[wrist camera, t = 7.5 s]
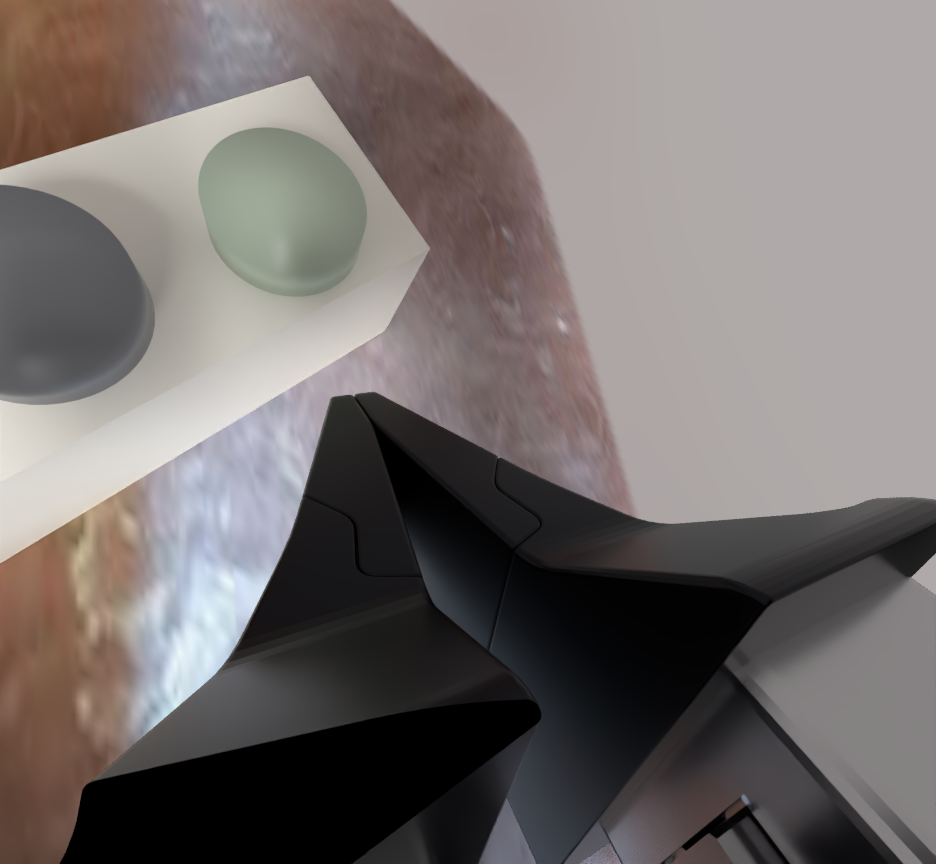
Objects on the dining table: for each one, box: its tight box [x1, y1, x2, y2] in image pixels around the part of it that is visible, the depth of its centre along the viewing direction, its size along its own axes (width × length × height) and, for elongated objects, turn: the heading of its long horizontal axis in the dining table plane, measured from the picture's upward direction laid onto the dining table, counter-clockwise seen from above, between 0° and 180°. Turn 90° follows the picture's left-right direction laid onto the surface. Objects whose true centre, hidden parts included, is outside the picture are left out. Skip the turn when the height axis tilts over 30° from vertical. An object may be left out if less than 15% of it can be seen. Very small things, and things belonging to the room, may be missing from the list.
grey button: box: [0, 185, 155, 405], centre depth 10 cm, size 4×4×2 cm
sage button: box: [198, 127, 367, 297], centre depth 14 cm, size 4×4×2 cm
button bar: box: [0, 76, 430, 563], centre depth 16 cm, size 7×20×8 cm, turn 128°
